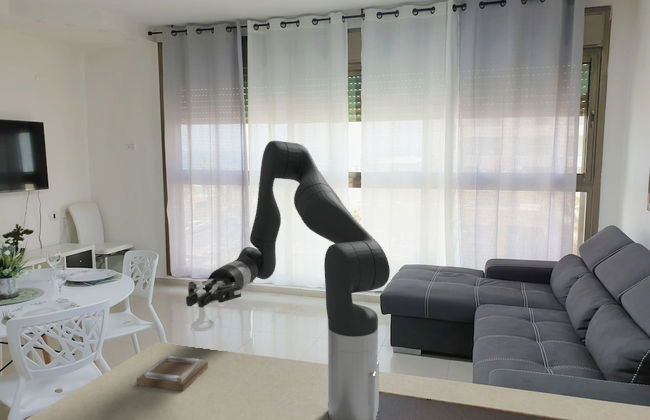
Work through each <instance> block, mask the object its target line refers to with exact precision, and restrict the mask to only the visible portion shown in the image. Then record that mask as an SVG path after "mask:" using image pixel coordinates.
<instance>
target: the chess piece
mask: <svg viewBox="0 0 650 420" xmlns="http://www.w3.org/2000/svg"><path fill="white" fill-rule="evenodd" d="M202 282H203V281H199V284H196V285H197V287H199V288H200V290H198V291H197V292H196V293H197V295H198V298H199V297H200V296H202V295H203V294H205V293H206V291H205V290H203V289H202V288H205V285H202ZM196 304H197V305H198V301H197V303H196ZM198 308H199V309H198V317H197V319H196V321H193V322H192V323H191V325H190V326H191V327H190V328H191V330H192V331H194V332H205V331H209V330H212V329H213V328H215V322H214V321H213V320H211V319H209V318H208V317H207V315H206V309H205V306H204V307H199V306H198Z"/></svg>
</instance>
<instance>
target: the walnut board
mask: <svg viewBox="0 0 650 420" xmlns="http://www.w3.org/2000/svg"><path fill="white" fill-rule="evenodd" d="M208 368H209V361H206V360H204V359H201V358H192V357H186V356H185V357H184V356H175V355H164V356H163V357H162V358H161V359H159V360H158V361H156V362H155V363H154V364H152V365H151V366H150V367H148V368H147V369H146V370H145V371H143V372H142V373H141V375H139V376H137V378H136V386H140V387H141V386H142V387H147V388H149V387H150V388H157V389H165V390H171V391H180V392H184V391H185V390H186V389H187V388H188V387H190V385H191V384H193V383H194V381H196V380H197V379H198V378H199V377H200V376H201V375H203V373H205V371H206V370H208Z"/></svg>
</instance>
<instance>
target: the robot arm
mask: <svg viewBox="0 0 650 420" xmlns="http://www.w3.org/2000/svg"><path fill="white" fill-rule="evenodd" d="M261 159H262V160H261V165H260V174H259V183H258V191H257V203H256V211H255V216H254V220H253V224H252V228H251V232H250V236H249V240H250V243H251V245H252V246H253V247H252V246H247V247H243V249H242V250H241V252H240V253H239V254H238V255H239V256H238V257H237V258H236V259H235V260H232V261H231V262H228V263H226V264H224V265H222V266H220V267H219V268H217V269H215V270H213V271H212V272H211V273H210V275H209V277H208V278H207V280H204V281H201V282H202V285H205V288H202V289H203V290H205V291H206V293H205V294H203V295H202V296H200V297H199V298H198V295H197V293H196V292H197V291H198V290H200V288H199V287H197V285H198V284H197V282H194V281H189V282H188V288H187V291H188V293H187V294H188V295H187V296H186V297H185V299H186V300H185V304H186V306H187V307H193V306H194V305H196V304H197V301H198V304H197V305H198V306H197V307H198V308H199V307H204V308H205V307H206V306H207V305H209V304H213V303H215V302H218V303H220V304H221V303H224V302H228V301H231V300H234V299H237V298H241V297H242V291H243V290H244V289H245V288H246V287H247V286H248V285H249V284H251V283H252V282H254V281H255V279H260V280H268V279H270V277H272V276H273V274H274V272H275V269H276V265H277V258H276V257H277V256H276V255H277V254H276V245H277V244H276V243H277V238H278V235H279V231H280V228H281V224H282V223H281V222H282V221H281V220H282V217H281V212H280V209H279V206H278V203H277V200H276V199H275V198H276V197H275V194H274V183H275V180H276V179H281V180H282V179H283V180H290V181H292V180H293V181H295V182H297V183H298V186H297V188H296V190H295V193H294V197H293V202H294V203H293V204H294V208H295V210H296V212H297V214H298V215H299V217H300V219H301V220H302V221H303V222H302V223H304V225H305V226H306V227H307V228H308V229H309V231H312V232H313V233H315V234H317V235H318V236H320V237H321V238H324V239H326V240H327V241H329V242H332V243H333V244H331V245H329V246H328V248H327V249H326V251H325V255H324V264H323V265H324V266H323V268H324V269H323V270H324V283H325V284H324V285H325V307H326V314H327V329H328V330H327V332H328V334H327V336H328V337H327V344H328V345H327V349H328V350H327V355H328V356H327V362H328V363H327V365H328V366H327V374H328V375H327V377H328V379H327V383H328V384H327V386H328V387H327V393H328V394H327V395H328V397H327V398H328V399H327V401H328V402H327V407H328V408H327V409H328V417H329V419H331V420H377V417H378V413H379V409H378V408H379V403H380V402H379V401H380V399H379V397H380V395H379V393H380V386H379V385H380V363H379V361H378V345H379V343H378V342H379V341H378V339H379V338H378V336H379V335H378V334H379V328H378V327H379V318H378V314H377V312H376V311H375V310H374V309H372V308H370V307H368V306H365V305H361V304H357V303H354V302H353V296H352V295H353V293H354V294H355V293H362V292H363V293H364V292H369V291H375V290H377V289H380V288H382V287H384V286H385V285H386V284H387V283H388V281H389V279H390V273H391V270H390V269H391V268H390V264H389V263H390V262H389V260H388V256H387V255H386V253H385V250H383V248H382V246H381V245H380V244H379V242H378V241H377V240H376V239H375V238H374V237H373V236H372V235H371V234H370V233H369V232H368V231H367V230H366V229H365V228H364V227H363V226H362V225H361V224H360V223H359V222H358V220H357V219H356V218H355V217H354V216H353V215H352V213H350V211H349V210H348V208H347V207H346V206H345V204H344V203H343V202H342V200H341V198H340V197H339V196H338V195H337V193H336V192H335V190H334V189H333V188H332V186H331V185H330V184H329V183H328V182H327V181H326V179H325V178H324V176H323V174H322V173H321V172H320V170H319V168H318V166H317V165H316V163H315V160H314V159H313V157H312V154H311V153H310V152H309V150H308V148H307V147H305V145H304V144H300V143H296V142H289V141H280V140H270V141H269V142H268V143H267V144H266V146H265V148H264V151H263V153H262V157H261ZM377 412H378V413H377ZM376 416H377V417H376Z"/></svg>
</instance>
